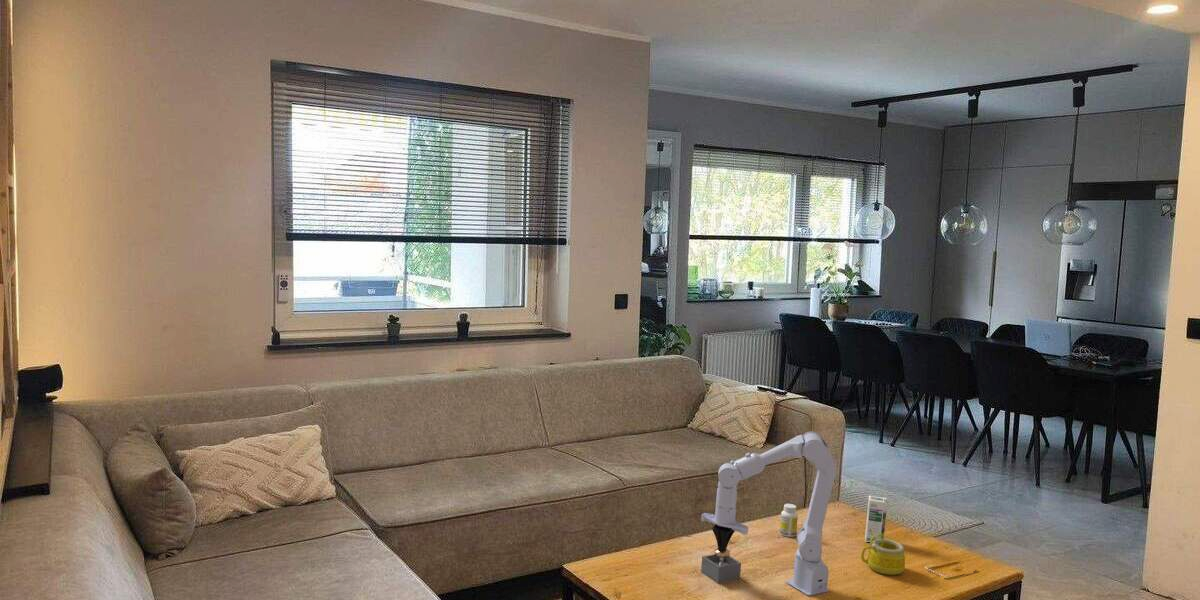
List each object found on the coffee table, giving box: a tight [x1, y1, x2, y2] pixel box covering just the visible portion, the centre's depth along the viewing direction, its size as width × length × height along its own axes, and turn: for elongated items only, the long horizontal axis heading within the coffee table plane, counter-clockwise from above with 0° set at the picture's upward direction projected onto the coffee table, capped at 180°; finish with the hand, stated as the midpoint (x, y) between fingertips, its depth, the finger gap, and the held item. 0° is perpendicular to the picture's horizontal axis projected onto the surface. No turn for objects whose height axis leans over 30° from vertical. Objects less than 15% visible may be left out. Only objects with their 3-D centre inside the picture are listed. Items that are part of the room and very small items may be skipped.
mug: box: [860, 529, 906, 576], centre depth 256 cm, size 13×11×12 cm
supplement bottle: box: [779, 503, 799, 538], centre depth 280 cm, size 5×5×10 cm
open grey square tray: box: [700, 553, 742, 584], centre depth 245 cm, size 8×8×5 cm
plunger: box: [713, 547, 731, 566], centre depth 245 cm, size 6×6×5 cm
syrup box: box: [864, 495, 888, 543], centre depth 278 cm, size 6×6×14 cm
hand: (722, 550), depth 245 cm, fingers closed, pressing on plunger
